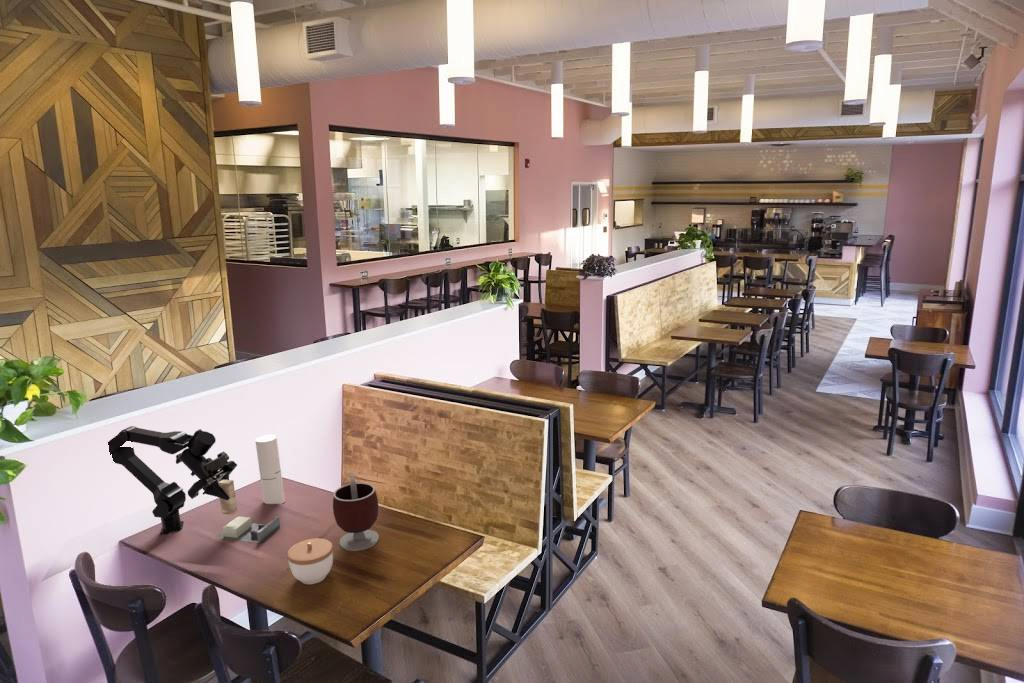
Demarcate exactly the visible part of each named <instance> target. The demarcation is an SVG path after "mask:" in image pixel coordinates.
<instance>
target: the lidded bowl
mask: <svg viewBox="0 0 1024 683" xmlns="http://www.w3.org/2000/svg"><path fill="white" fill-rule="evenodd" d="M333 549H334V547H333V543H332V542H331V541H330V540H328V539H326V538H316V537H315V538H309V539H305V540H301V541H299V542H297V543H295V544H294V545H293V544H292V545H291V547H289V548H288V551H287V553H286V554H287V555H286V556H287V559H288V566H289V569H290V572H291V573H292V575H293V577H294V578H295V579H297V580H298V581H299V582H300V583H302V584H304V585H315V584H318V583H320V582H323V581H324V580H325V578H326V577H327V576H328V574H329V573H330V571H331V570H332V567H333V562H334V551H333Z"/></svg>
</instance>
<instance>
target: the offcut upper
mask: <svg viewBox="0 0 1024 683" xmlns="http://www.w3.org/2000/svg"><path fill="white" fill-rule="evenodd" d="M250 522H252V517H249V516H239V515H238V516H236V517H235V518H234V519H233V520H230V522H229V523H227V524H226V525H224V526H223V527H222V532H225V533H235V534H236V533H238V532H239V531H240V530H242V529H243V528H244V527H245V526H247V525H248V524H249V523H250Z"/></svg>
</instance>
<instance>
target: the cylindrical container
mask: <svg viewBox="0 0 1024 683" xmlns="http://www.w3.org/2000/svg"><path fill="white" fill-rule="evenodd" d="M254 441H255V448H256V454H257V460H258V461H257V462H258V471H259V478H260V483H261V492H262V498H263V504H266V505H274V504H275V505H283V504H282V503H283V502H284V501H285V502H286V499H285V490H284V484H283V483H284V482H283V477H282V469H281V461H280V455H279V454H280V453H279V446H278V438H277V435H275V434H265V435H261V436H258V437H256V438H255V440H254Z"/></svg>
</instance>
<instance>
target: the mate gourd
mask: <svg viewBox="0 0 1024 683" xmlns="http://www.w3.org/2000/svg"><path fill="white" fill-rule="evenodd" d="M349 481H350V482H349V484H345V485H342V486H340V487H338V488H337V489H336V490H334V492H333V493H332V494H333V497H332V498H333V499H332V510H333V516H334V520H335V522H336V525H337V526H338V527H339V528H340V529H341V530H342V531H343V532H345V533H346V534H344V535H343V536H342V537H341V538H340V540H339V546H340V548H341V549H343V550H345V551H349V552H358V551H364V550H367V549H370V548H372V547H373V546H375V545H377V543H378V542H379V540H380V538H379V537H380V536H379V534H378V532H377V531H375V530H372V529H371V528H372V527H373V526H374V525H375V523H376V521H377V520H378V517H379V499H378V495H377V492H376V487H375V485H373V484H371V483H368V482H366V483H365V482H356V478H355V476H354V472H350V480H349Z"/></svg>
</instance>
